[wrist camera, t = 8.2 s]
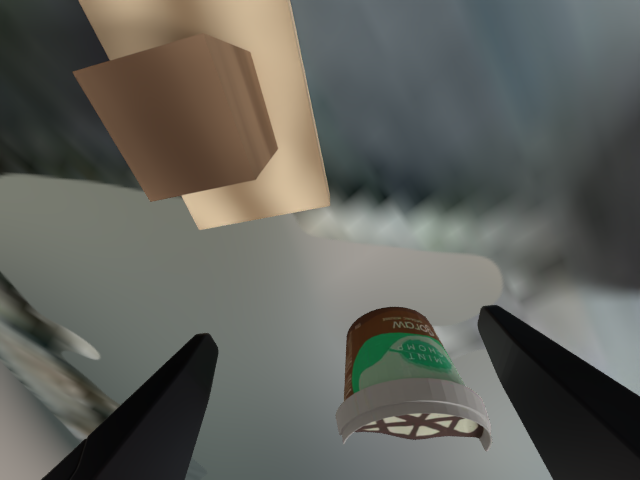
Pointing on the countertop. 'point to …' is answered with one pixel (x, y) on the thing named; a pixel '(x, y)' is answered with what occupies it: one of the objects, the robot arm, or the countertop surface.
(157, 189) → the walnut block
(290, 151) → the oak base
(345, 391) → the food container
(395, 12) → the countertop surface
